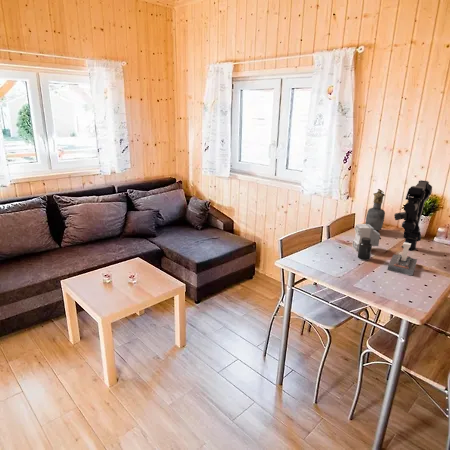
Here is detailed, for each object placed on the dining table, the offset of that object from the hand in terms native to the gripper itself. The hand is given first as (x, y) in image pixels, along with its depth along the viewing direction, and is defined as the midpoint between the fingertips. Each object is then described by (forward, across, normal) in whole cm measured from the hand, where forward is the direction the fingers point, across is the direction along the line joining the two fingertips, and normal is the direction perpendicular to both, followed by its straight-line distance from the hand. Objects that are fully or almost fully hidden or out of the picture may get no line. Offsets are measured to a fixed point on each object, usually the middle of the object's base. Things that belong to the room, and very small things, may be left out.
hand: (407, 235), depth 198 cm
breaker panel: (+13, +16, +1) cm, 21 cm away
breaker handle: (+10, +14, +1) cm, 17 cm away
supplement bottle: (+13, +16, -19) cm, 28 cm away
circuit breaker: (+13, +1, -21) cm, 25 cm away
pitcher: (+13, -37, -24) cm, 46 cm away
